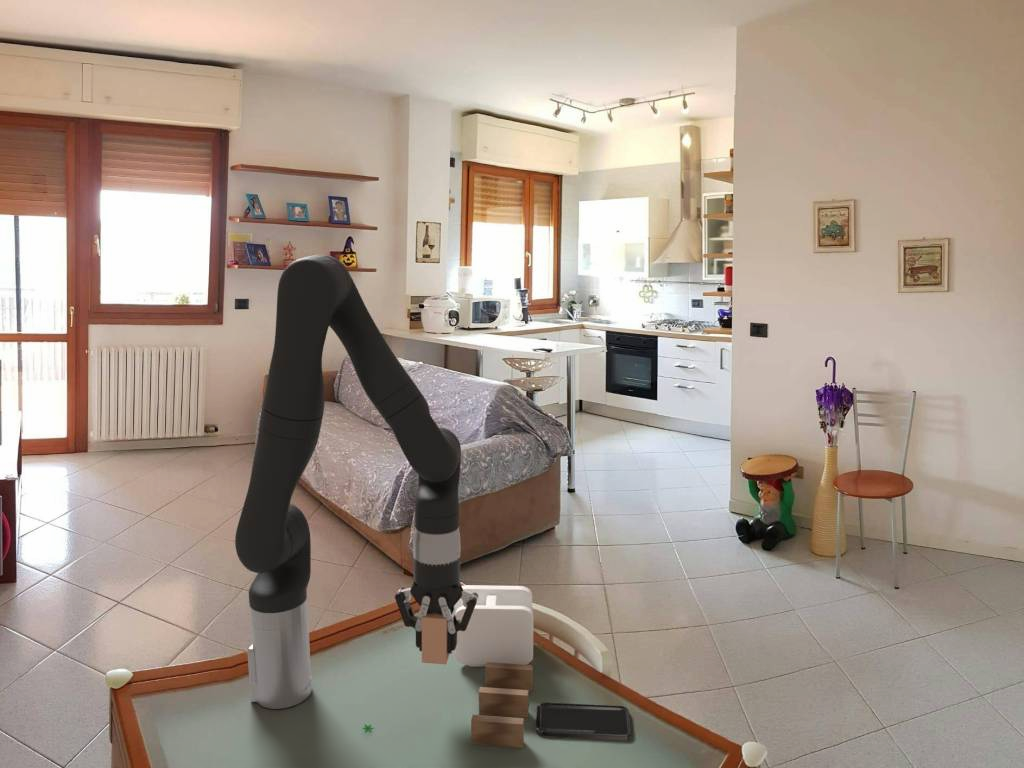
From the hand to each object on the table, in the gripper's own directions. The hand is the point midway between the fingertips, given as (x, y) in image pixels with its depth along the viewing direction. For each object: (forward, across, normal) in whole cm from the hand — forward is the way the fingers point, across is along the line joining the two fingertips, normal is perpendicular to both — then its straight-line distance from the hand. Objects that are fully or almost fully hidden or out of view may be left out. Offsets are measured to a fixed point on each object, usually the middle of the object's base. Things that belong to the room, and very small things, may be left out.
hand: (436, 649), depth 128 cm
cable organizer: (+10, +7, +17) cm, 21 cm away
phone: (+10, +24, -2) cm, 27 cm away
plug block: (+1, 0, 0) cm, 1 cm away
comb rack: (+10, +12, -1) cm, 15 cm away
